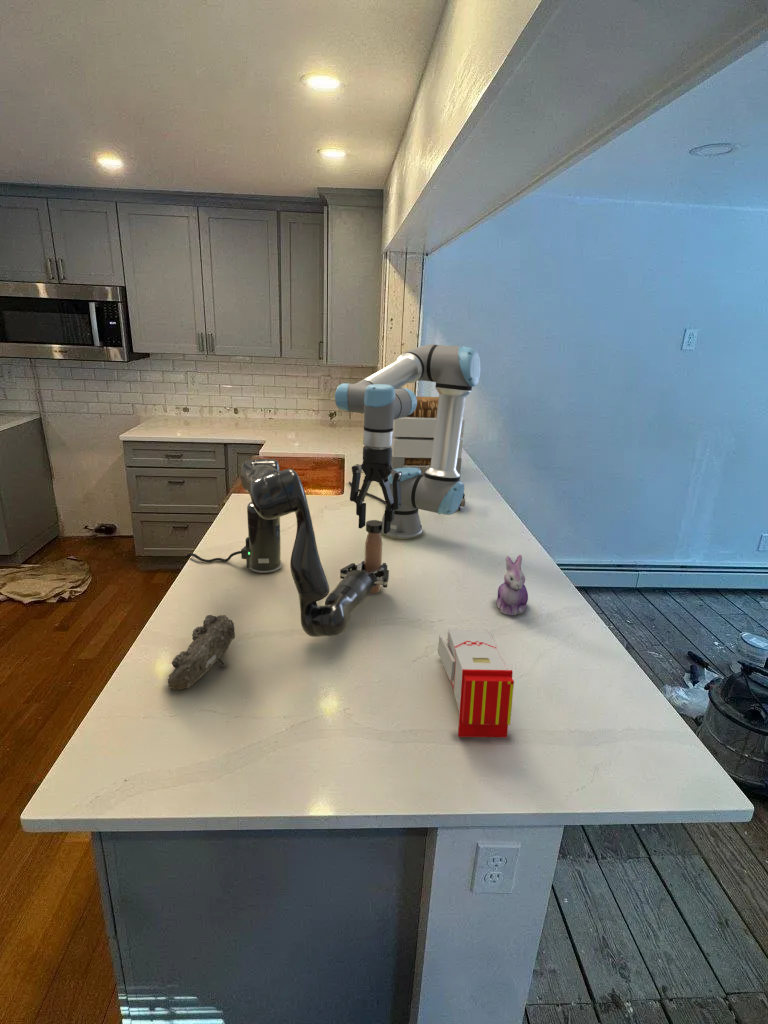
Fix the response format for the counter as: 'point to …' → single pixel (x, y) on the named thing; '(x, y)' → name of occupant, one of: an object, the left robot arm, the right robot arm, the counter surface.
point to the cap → (374, 526)
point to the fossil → (202, 651)
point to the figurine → (512, 589)
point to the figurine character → (462, 502)
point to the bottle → (373, 555)
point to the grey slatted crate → (418, 436)
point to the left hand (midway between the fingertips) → (376, 564)
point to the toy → (478, 682)
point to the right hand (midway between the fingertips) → (374, 529)
